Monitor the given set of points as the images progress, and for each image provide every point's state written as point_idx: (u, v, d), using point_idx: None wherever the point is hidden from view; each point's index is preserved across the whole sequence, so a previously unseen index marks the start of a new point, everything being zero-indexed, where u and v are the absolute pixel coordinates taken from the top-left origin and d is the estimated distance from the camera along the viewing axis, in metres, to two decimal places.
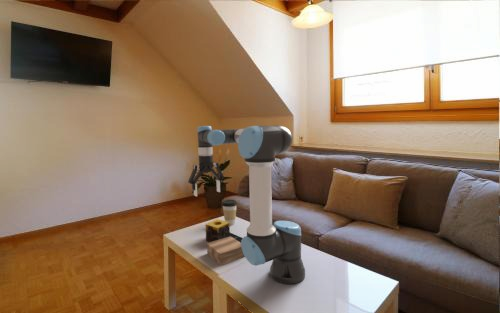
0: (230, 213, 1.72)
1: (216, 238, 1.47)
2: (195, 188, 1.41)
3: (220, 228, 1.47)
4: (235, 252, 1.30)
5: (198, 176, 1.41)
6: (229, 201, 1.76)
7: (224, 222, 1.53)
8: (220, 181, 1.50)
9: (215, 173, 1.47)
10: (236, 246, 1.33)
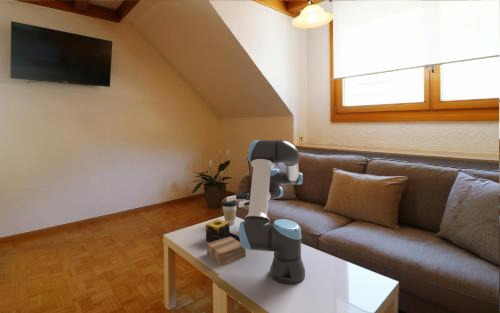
0: (230, 213, 1.72)
1: (216, 238, 1.47)
2: None
3: (220, 228, 1.47)
4: (235, 252, 1.30)
5: (242, 195, 1.66)
6: (229, 201, 1.76)
7: (224, 222, 1.53)
8: (248, 202, 1.53)
9: None
10: (236, 246, 1.33)
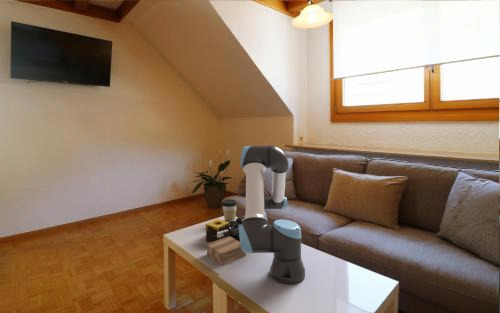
0: (230, 213, 1.72)
1: (216, 238, 1.47)
2: None
3: (220, 228, 1.47)
4: (236, 252, 1.31)
5: None
6: (229, 201, 1.76)
7: (224, 222, 1.53)
8: (227, 232, 1.47)
9: (233, 227, 1.53)
10: (237, 245, 1.33)
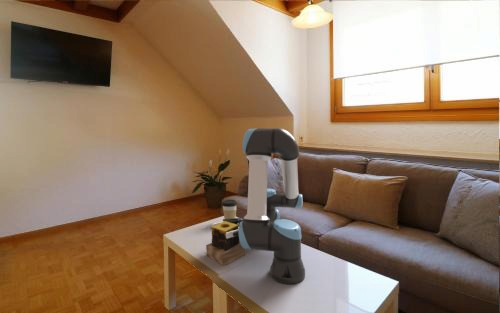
0: (230, 213, 1.72)
1: (223, 243, 1.29)
2: None
3: (228, 231, 1.29)
4: (236, 252, 1.31)
5: (232, 220, 1.42)
6: (229, 201, 1.76)
7: (232, 224, 1.35)
8: (238, 232, 1.29)
9: None
10: (237, 245, 1.33)
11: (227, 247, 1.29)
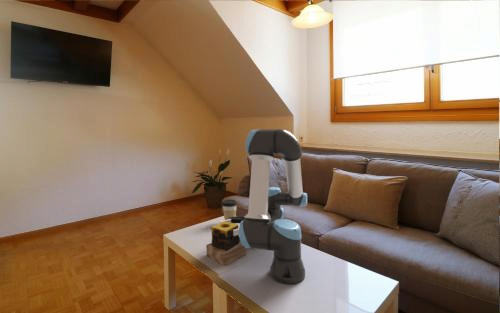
0: (230, 213, 1.72)
1: (224, 243, 1.28)
2: None
3: (229, 231, 1.29)
4: (237, 252, 1.31)
5: (238, 218, 1.45)
6: (229, 201, 1.76)
7: (232, 224, 1.35)
8: None
9: None
10: (237, 245, 1.33)
11: (228, 247, 1.28)
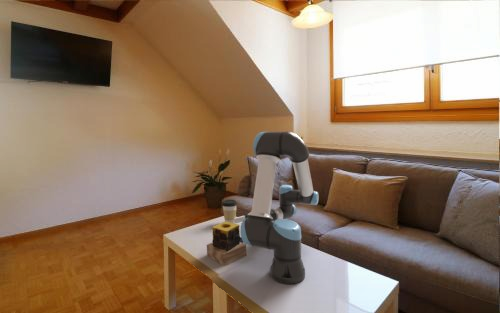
0: (230, 213, 1.72)
1: (225, 243, 1.28)
2: None
3: (229, 231, 1.28)
4: (237, 252, 1.31)
5: None
6: (229, 201, 1.76)
7: (233, 224, 1.34)
8: None
9: None
10: (237, 245, 1.33)
11: (229, 247, 1.28)
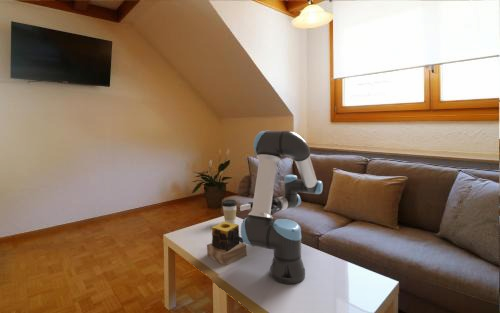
0: (230, 213, 1.72)
1: (225, 243, 1.28)
2: None
3: (229, 232, 1.28)
4: (237, 252, 1.31)
5: None
6: (229, 201, 1.76)
7: (233, 224, 1.34)
8: None
9: None
10: (238, 245, 1.33)
11: (228, 247, 1.28)
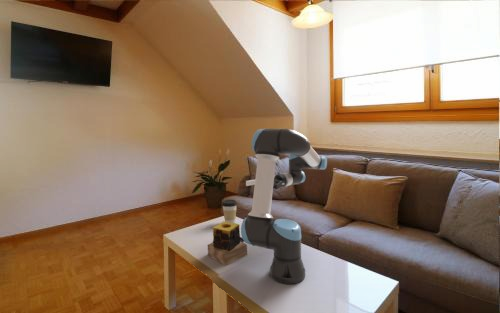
0: (230, 213, 1.72)
1: (227, 243, 1.28)
2: None
3: (231, 231, 1.29)
4: (238, 252, 1.31)
5: None
6: (229, 201, 1.76)
7: (233, 224, 1.35)
8: None
9: (274, 182, 1.47)
10: (238, 245, 1.34)
11: (231, 247, 1.28)
